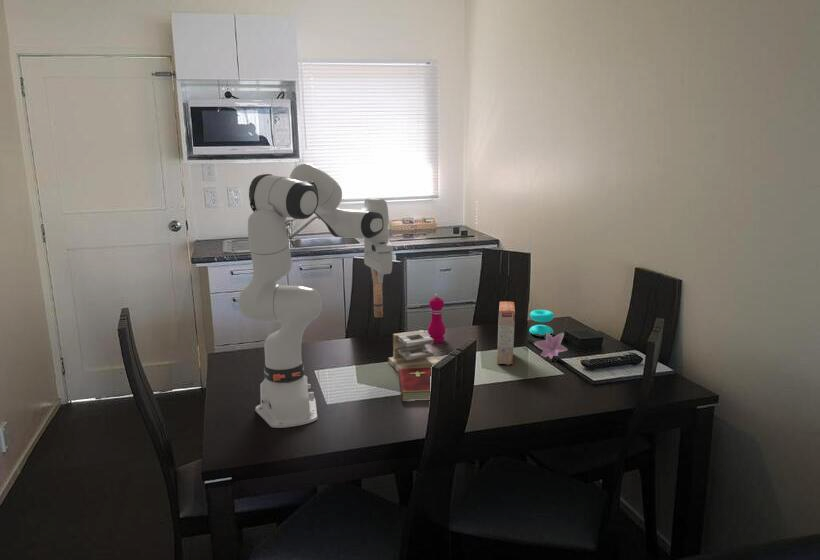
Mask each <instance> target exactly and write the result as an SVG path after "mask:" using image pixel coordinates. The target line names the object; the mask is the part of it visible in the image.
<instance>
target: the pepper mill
mask: <svg viewBox="0 0 820 560" xmlns="http://www.w3.org/2000/svg"><path fill="white" fill-rule="evenodd" d="M428 303H429V305H428V306H429V307H430V314H431V320H430V322H429V325H428V327H427V333H428V336H429V337H431V338H432V339H434V343H433V344H441V343H440V342H442V343H444V342H445V334H446V326H445V325H444V322H443V319H442V315H443V313H444V312H443V311H444V310H443V308H444V306H445V301H444V300H443V298H441V297H440V296H439V294H438V293H435V294H434V297H432V298H431V299H430V300H429V302H428ZM443 341H444V342H443Z"/></svg>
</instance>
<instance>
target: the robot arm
mask: <svg viewBox="0 0 820 560" xmlns="http://www.w3.org/2000/svg"><path fill="white" fill-rule="evenodd" d="M342 197H343V190H342V187H341V185H340V184H339V183H338V182H337V181H336V180H335V179H334V178H333V177H332V176H331V175H330V174H328V173H327V172H325V171H324V170H322V169H320V168H319V167H317V166H315V165H313V164H310V163H301V164H299V165H296V167H294V168H293V169H292V171H291V173H290V176H289V177H288V176H284V175H283V176H282V175H274V174H270V173H263V174H259V175H256V176H255V177H254V178H253V179H252V181H251V182H250V185H249V188H248V200H249V206H250V208H251V210H252V213H250V215H249V216H248V220H247V236H248V237H247V238H248V239H247V240H248V245H249V251H250V256H251V262H252V263H251V264H252V270H253V271H252V272H253V274H252V277H251V281H250V283H249V284H248V285H246V286H245V287H244V288H243V289H242V291H240V294H239V296H238V299H237V300H238V301H237V306H238V310H239V311H240V313H241V315H242V316H243V317H245V318H247V319H251V320H255V321H262V322H263V321H264V322H265V321H266V322H280V329H278V330H276V331H274V332H272V333H270V334H269V335H268V336H267V337H266V339H265V340H264V343H263V344H264V345H263V346H264V350H263V351H264V365H263V373H264V379H263V381H261V383H260V384H259V385H260V387H259V391H260V404H257V405H256V406H255V412H256V414H258V415H259V417H261V418H262V419H263V421H265V422H266V423H267V424H268V426H269V427H271V428H275V429H277V428H278V429H281V428H283V429H284V428H291V427H292V428H293V427H298V426H302V425H307V424H311V423H313V422H315V421H317V420H318V419H319V417H318V412H317V411H318V409H317V401H316V398H315V392H314V391H309V389H311V388H312V386H311V385H312V384H311V383H308V376H307V375H305V366H304V363H303V361H302V341H303V335H304V332H305V331H306V330H307V328H308V326H309V325H310V324H311V323H313V321H315V320H317V318H318V317H319V316H320V314H321V311H322V309H323V299H322V297H321V294H320V292H318V290H317V289H316V288H311V287H308V286H302V285H282V284H279V283H278V281H280V280H283V278H285V277H286V276H287V275H288V274H290V272H291V270H292V267H293V260H292V255H291V250H290V243H289V237H288V234H287V230H286V221H287V218H292V219H294V220H305V219H306V220H307V219H309V218H310V217H311V216H313V215H315V216H317V218H319V219H320V220H321V221H322V222H323V223H324V224H325V226H326V227H327V229H328V231H329V233H330V234H331V235H332V236H333V237H335V238H353V239H363V240H364V241H363V242H364V243H363V244H364V249H363V250H364V251H363V262H364V265H365V266H367V267H369V268H370V272H371V274H372V277H373V269H374V270H376V271H377V274H378V278H377V282H378V283H382V284H383V283H384V275H390V274H392V272H393V252H394V245H393V244H392V242H391V240H390V234H389V233H390V232H389V223H390V221H389V220H390V218H389V208H388V203H387V201H386V200H385V199H383V198H376V197H375V198H374V197H372V198H370V197H368V198H365V199H364V205H363V206H362V207H361V208H360V209H350V208H349V209H348V208H341V207H339V205H340V204H341V202H342V199H343V198H342Z"/></svg>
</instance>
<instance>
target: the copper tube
mask: <svg viewBox="0 0 820 560" xmlns="http://www.w3.org/2000/svg"><path fill="white" fill-rule="evenodd" d="M377 278H378V274H377V271H376V270H374V269H373V276H372V282H373V283H372V284H373V314H374V315H373V316H374V318H379V319H380V318H383V317H384V316H383V315H384V311H383V309H384V307H383V306H384V304H383V301H384V300H383V283H378V282H377Z"/></svg>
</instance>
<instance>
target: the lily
mask: <svg viewBox="0 0 820 560" xmlns="http://www.w3.org/2000/svg"><path fill="white" fill-rule="evenodd" d="M564 335H565V332H560V333H558V334H555V336H553V335H550V333H548V332H547V334H546V337H545V339H544V340H543V339H542V340H537V341H535V342H534V343H533V345H534V346H535V347H537V348H538V349H540V350H542V352H541V354H540V356H543V357H545V358H546V357H548V358H549V359H550V360H551V359H552V358H553V356H558V357H559V353H562V352H566V351H568V348H567V347H566V346H564V345H563V344H562V341H563V338H564Z"/></svg>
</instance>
